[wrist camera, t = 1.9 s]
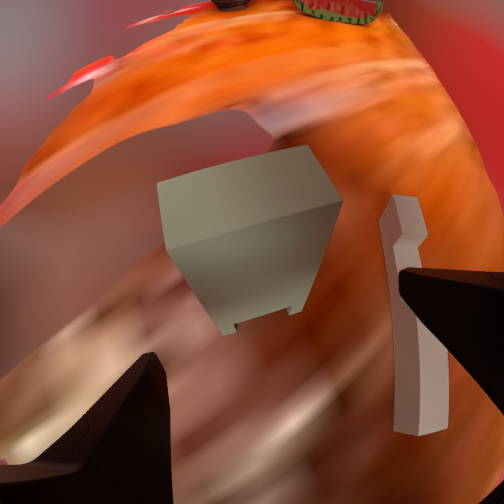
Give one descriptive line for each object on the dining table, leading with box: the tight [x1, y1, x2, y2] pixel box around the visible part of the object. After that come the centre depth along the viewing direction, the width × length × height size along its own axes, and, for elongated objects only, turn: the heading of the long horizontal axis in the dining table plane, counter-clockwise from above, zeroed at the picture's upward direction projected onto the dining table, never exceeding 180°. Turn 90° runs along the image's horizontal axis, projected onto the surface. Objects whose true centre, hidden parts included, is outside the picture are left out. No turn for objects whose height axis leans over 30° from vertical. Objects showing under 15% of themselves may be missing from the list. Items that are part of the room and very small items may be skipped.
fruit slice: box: [293, 0, 383, 24], centre depth 54 cm, size 26×6×10 cm, turn 76°
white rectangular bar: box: [378, 194, 449, 436], centre depth 18 cm, size 18×2×4 cm, turn 176°
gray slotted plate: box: [157, 145, 343, 336], centre depth 15 cm, size 6×3×13 cm, turn 107°
